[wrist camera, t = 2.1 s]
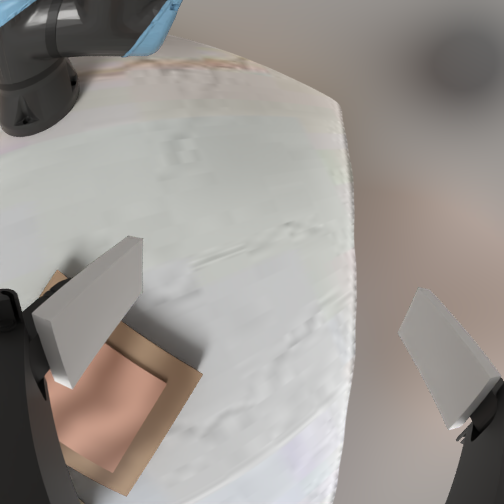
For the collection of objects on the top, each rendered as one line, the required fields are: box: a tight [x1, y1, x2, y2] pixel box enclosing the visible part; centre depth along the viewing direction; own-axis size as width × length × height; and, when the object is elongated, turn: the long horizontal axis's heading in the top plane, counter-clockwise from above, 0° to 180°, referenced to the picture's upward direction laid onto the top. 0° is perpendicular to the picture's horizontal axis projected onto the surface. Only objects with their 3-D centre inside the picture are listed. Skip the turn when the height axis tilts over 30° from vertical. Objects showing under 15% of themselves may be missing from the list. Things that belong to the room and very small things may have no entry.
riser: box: [40, 270, 203, 497], centre depth 24 cm, size 20×20×4 cm
